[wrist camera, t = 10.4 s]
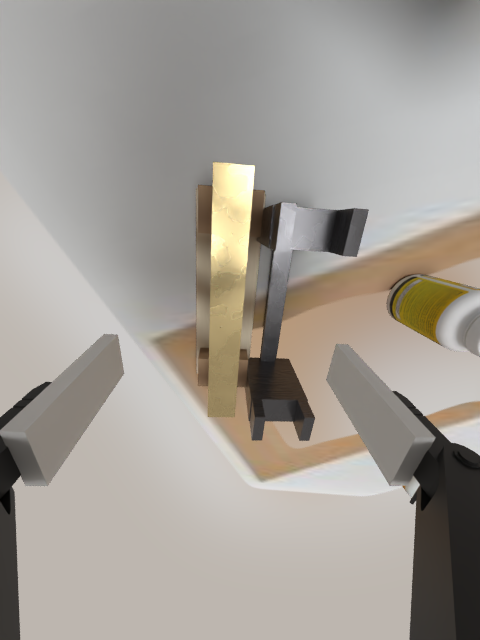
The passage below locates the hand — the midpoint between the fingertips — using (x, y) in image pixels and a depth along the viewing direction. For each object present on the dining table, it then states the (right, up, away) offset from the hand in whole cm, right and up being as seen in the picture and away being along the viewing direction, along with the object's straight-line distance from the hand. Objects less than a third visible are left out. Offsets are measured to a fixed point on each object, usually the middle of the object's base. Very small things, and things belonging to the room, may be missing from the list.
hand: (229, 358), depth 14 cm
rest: (-1, +5, +13) cm, 14 cm away
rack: (+5, +4, +14) cm, 16 cm away
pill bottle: (+22, +5, +15) cm, 27 cm away
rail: (-1, +4, +11) cm, 11 cm away
